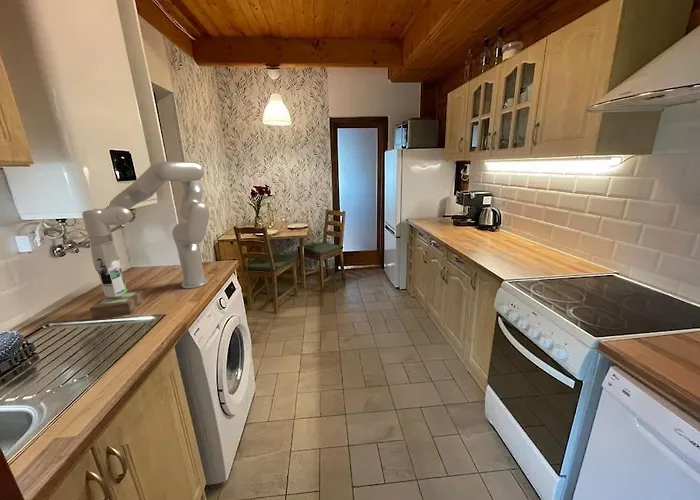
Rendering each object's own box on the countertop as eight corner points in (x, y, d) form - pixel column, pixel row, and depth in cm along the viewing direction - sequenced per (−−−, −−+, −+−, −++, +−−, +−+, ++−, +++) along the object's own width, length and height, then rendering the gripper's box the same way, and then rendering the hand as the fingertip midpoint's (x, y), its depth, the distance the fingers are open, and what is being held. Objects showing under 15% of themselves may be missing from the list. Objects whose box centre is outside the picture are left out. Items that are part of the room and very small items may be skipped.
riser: (110, 304, 144) (107, 293, 142) (144, 300, 146) (142, 289, 144) (93, 319, 130) (89, 307, 129) (130, 314, 133) (127, 302, 131)
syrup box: (116, 297, 133) (107, 264, 129) (104, 296, 134) (95, 264, 130) (128, 291, 138) (119, 259, 134) (116, 291, 140) (107, 259, 135)
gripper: (102, 235, 137) (113, 274, 142) (77, 245, 121) (90, 289, 126) (121, 234, 138) (131, 272, 143) (100, 243, 122) (112, 287, 127)
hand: (112, 280), depth 134 cm, fingers closed on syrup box, 7 cm apart
